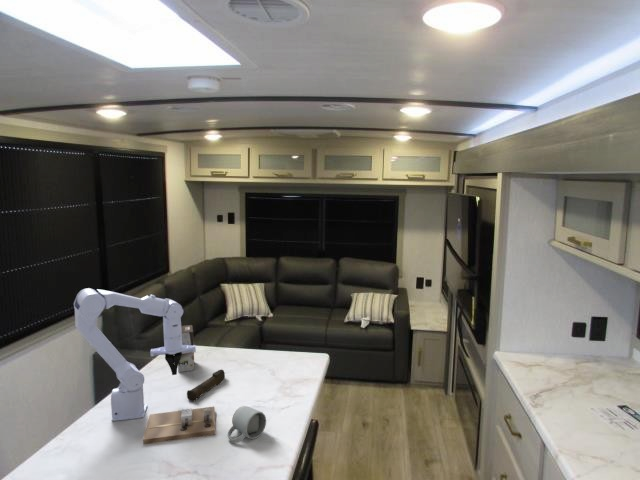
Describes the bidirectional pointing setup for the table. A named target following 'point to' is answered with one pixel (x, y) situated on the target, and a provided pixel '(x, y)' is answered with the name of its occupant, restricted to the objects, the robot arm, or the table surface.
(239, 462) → the table surface
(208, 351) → the table surface
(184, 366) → the coffee box
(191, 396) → the hand tool
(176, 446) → the table surface
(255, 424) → the ceramic mug
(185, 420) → the white rectangular block
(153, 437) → the wooden board
